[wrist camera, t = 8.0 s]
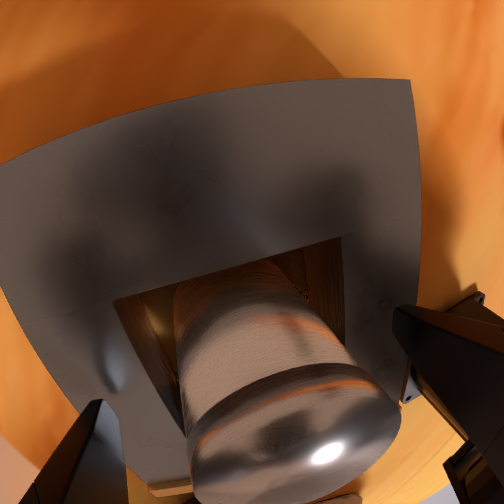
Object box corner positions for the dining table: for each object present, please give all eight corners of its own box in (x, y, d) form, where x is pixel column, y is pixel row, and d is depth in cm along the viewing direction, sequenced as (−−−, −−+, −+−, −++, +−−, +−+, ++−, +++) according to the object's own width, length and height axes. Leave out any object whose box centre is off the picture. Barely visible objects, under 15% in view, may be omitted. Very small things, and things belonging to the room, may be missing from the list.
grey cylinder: (296, 334, 13) (385, 467, 6) (192, 366, 12) (226, 526, 5) (281, 234, 11) (418, 358, 4) (154, 269, 10) (153, 452, 4)
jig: (366, 376, 15) (399, 416, 12) (151, 445, 13) (156, 497, 10) (354, 88, 9) (416, 79, 7) (14, 170, 7) (-41, 187, 5)
